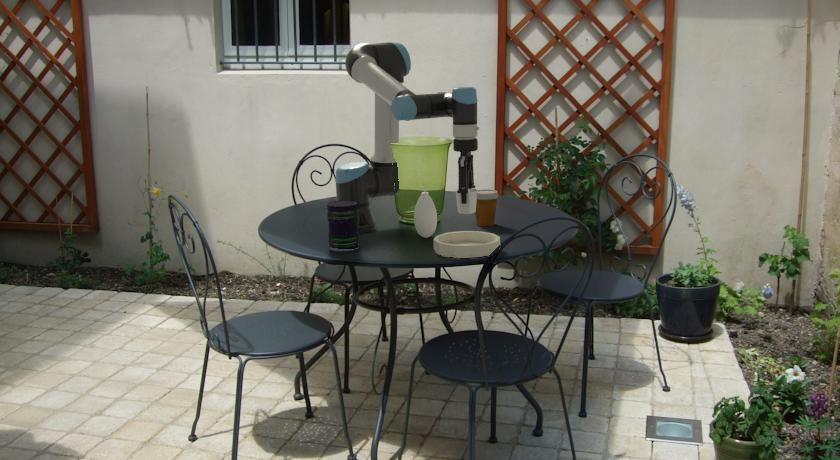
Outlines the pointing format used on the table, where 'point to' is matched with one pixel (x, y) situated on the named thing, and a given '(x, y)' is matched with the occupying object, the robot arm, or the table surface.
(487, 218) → the disposable coffee cup
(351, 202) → the storage jar
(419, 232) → the sauce bottle
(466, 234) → the cream bowl
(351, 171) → the robot arm
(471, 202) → the shot glass
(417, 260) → the table surface
